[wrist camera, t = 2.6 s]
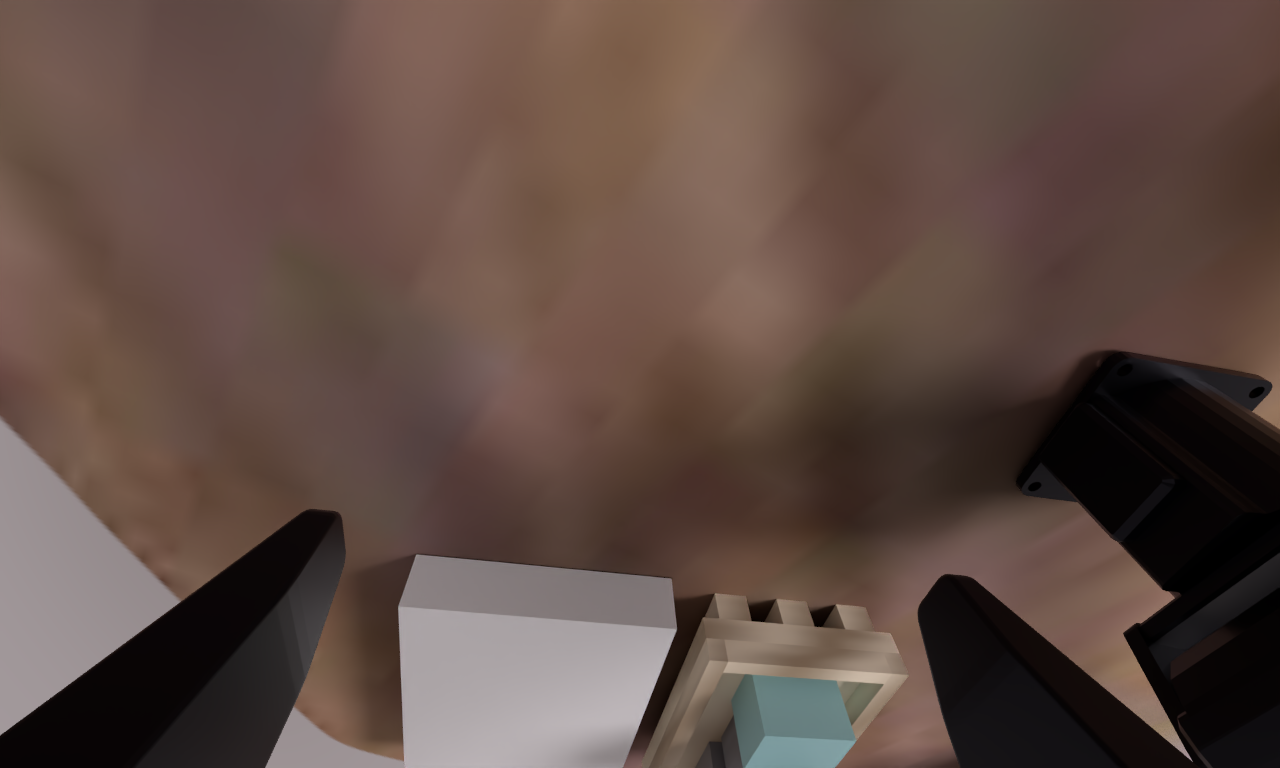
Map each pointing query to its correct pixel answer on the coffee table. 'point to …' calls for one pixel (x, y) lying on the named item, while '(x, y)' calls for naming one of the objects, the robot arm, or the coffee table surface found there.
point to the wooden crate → (770, 672)
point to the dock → (527, 663)
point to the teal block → (791, 722)
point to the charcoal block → (712, 756)
